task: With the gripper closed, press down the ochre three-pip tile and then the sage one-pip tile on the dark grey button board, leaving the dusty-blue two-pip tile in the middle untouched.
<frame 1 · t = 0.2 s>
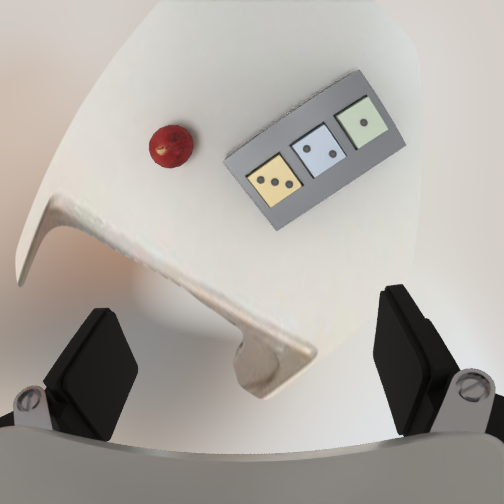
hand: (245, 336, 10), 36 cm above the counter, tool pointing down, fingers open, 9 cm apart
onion: (178, 143, 43), on the counter
tile three: (274, 180, 41), point 4 cm above the counter, slide at 0.0 cm
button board: (314, 147, 42), on the counter
tile one: (361, 122, 37), point 4 cm above the counter, slide at 0.0 cm
tile two: (318, 150, 39), point 4 cm above the counter, slide at 0.0 cm
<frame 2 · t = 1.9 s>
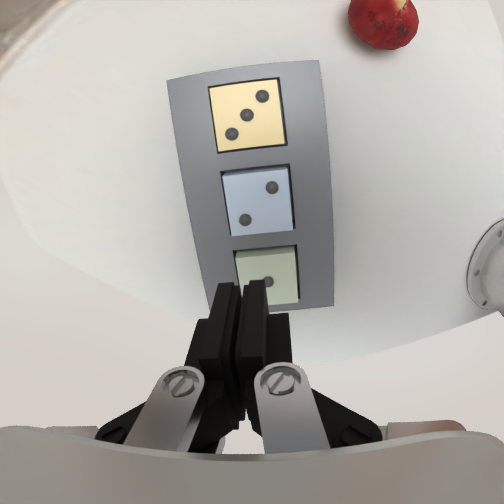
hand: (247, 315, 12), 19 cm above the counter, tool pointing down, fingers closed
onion: (369, 28, 22), on the counter
tile three: (247, 115, 23), point 4 cm above the counter, slide at 0.0 cm
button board: (259, 190, 29), on the counter
tile one: (268, 276, 28), point 4 cm above the counter, slide at 0.0 cm
tile two: (258, 200, 26), point 4 cm above the counter, slide at 0.0 cm
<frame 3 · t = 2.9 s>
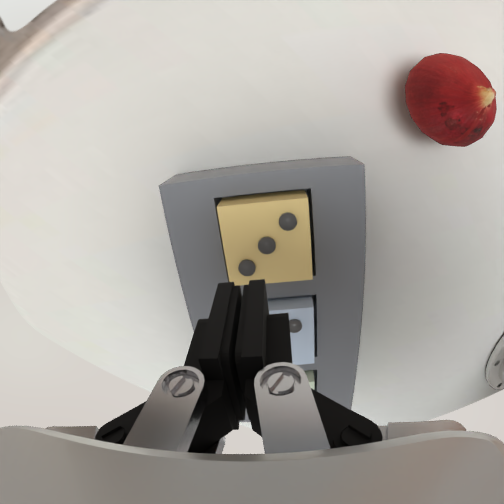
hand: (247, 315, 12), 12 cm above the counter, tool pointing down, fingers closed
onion: (423, 100, 18), on the counter
tile three: (267, 238, 19), point 4 cm above the counter, slide at 0.0 cm
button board: (277, 304, 25), on the counter
tile one: (283, 395, 24), point 4 cm above the counter, slide at 0.0 cm
tile two: (277, 332, 22), point 4 cm above the counter, slide at 0.0 cm
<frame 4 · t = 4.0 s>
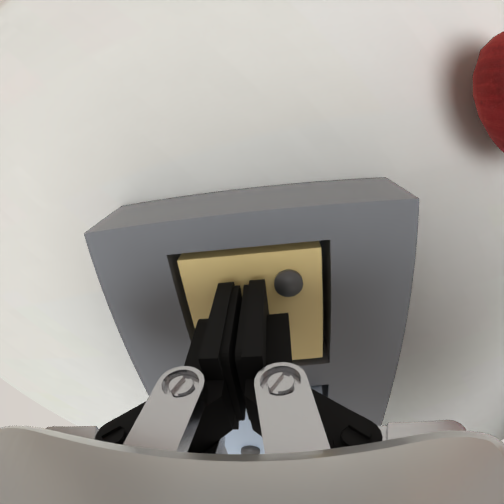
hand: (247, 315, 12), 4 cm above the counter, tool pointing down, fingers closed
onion: (484, 96, 11), on the counter
tile three: (257, 301, 13), point 2 cm above the counter, slide at -1.1 cm, touching gripper
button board: (272, 375, 18), on the counter
tile two: (271, 424, 14), point 4 cm above the counter, slide at 0.0 cm
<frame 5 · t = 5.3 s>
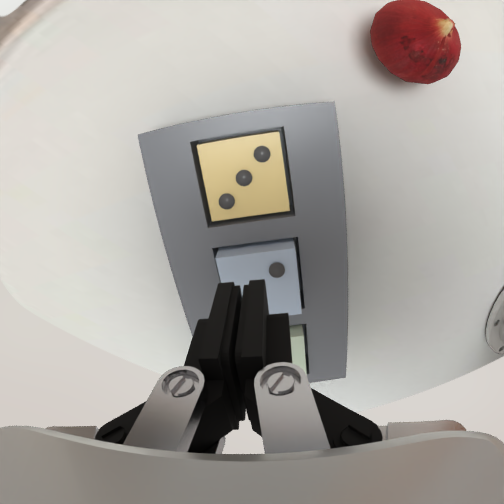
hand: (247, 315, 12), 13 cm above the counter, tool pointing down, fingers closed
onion: (393, 49, 18), on the counter
tile three: (244, 174, 20), point 2 cm above the counter, slide at -1.3 cm
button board: (261, 257, 25), on the counter
tile one: (273, 355, 24), point 4 cm above the counter, slide at 0.0 cm
tile two: (260, 280, 21), point 4 cm above the counter, slide at 0.0 cm
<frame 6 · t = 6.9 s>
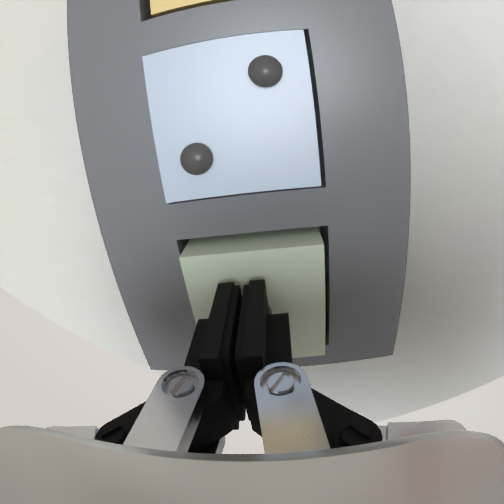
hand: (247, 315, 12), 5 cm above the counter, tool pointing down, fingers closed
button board: (243, 114, 13), on the counter
tile one: (259, 299, 13), point 4 cm above the counter, slide at -0.1 cm, touching gripper
tile two: (233, 114, 10), point 4 cm above the counter, slide at 0.0 cm
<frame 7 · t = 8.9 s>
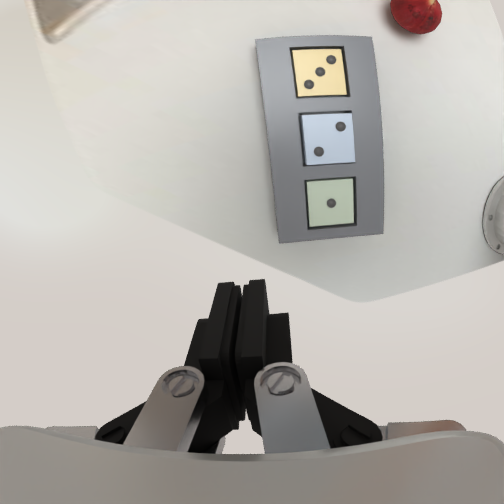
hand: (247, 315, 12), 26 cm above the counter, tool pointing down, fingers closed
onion: (402, 17, 26), on the counter
tile three: (318, 72, 28), point 2 cm above the counter, slide at -1.3 cm
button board: (321, 135, 33), on the counter
tile one: (329, 200, 34), point 2 cm above the counter, slide at -1.3 cm
tile two: (327, 138, 30), point 4 cm above the counter, slide at 0.0 cm
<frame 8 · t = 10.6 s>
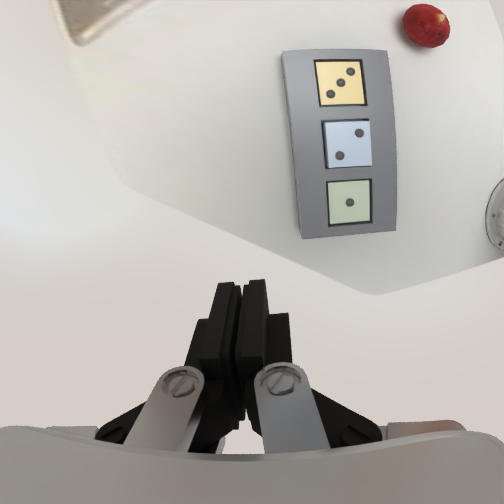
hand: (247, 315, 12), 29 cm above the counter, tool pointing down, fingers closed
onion: (413, 31, 29), on the counter
tile three: (338, 83, 31), point 2 cm above the counter, slide at -1.3 cm
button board: (340, 140, 36), on the counter
tile one: (347, 200, 37), point 2 cm above the counter, slide at -1.3 cm
tile two: (347, 143, 32), point 4 cm above the counter, slide at 0.0 cm
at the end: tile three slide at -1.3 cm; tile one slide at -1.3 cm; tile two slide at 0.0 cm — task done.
